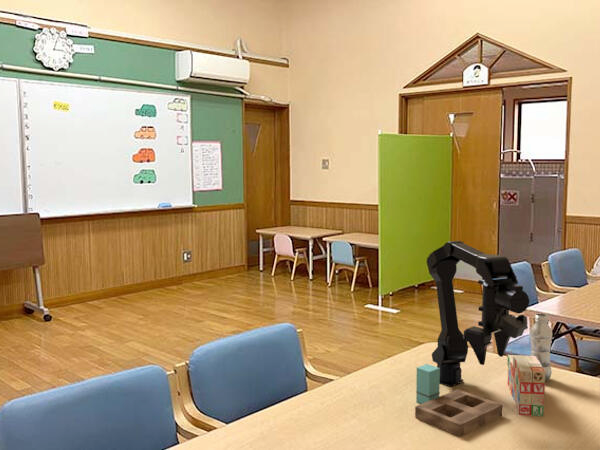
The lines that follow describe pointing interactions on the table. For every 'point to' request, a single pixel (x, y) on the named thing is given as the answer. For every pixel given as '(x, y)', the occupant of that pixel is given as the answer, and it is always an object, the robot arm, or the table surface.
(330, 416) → the table surface
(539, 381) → the stack of blocks
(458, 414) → the walnut board
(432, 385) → the teal peg
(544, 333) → the plastic bottle
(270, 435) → the table surface
